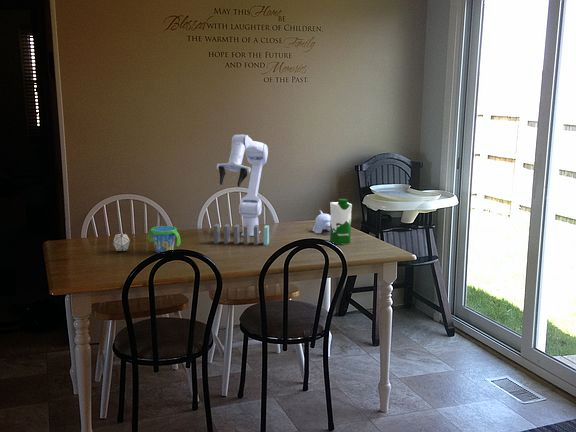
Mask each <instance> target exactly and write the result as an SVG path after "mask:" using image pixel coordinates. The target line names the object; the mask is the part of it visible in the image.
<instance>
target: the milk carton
mask: <svg viewBox="0 0 576 432" xmlns="http://www.w3.org/2000/svg"><path fill="white" fill-rule="evenodd" d="M329 206H330V209H329V210H330V215H331V218H330V232H329V235H330V236H329V238H330V239H329V242H331V241H332V242H331V243H333V242H334V243H335V244H334V243H333V244H334V245H343V244H342V243H349V244H351V234H352V233H351V231H352V208H353V204H352V203H349V202H348V199H347V198H338V201H336V202H335V201H331V202H329Z"/></svg>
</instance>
